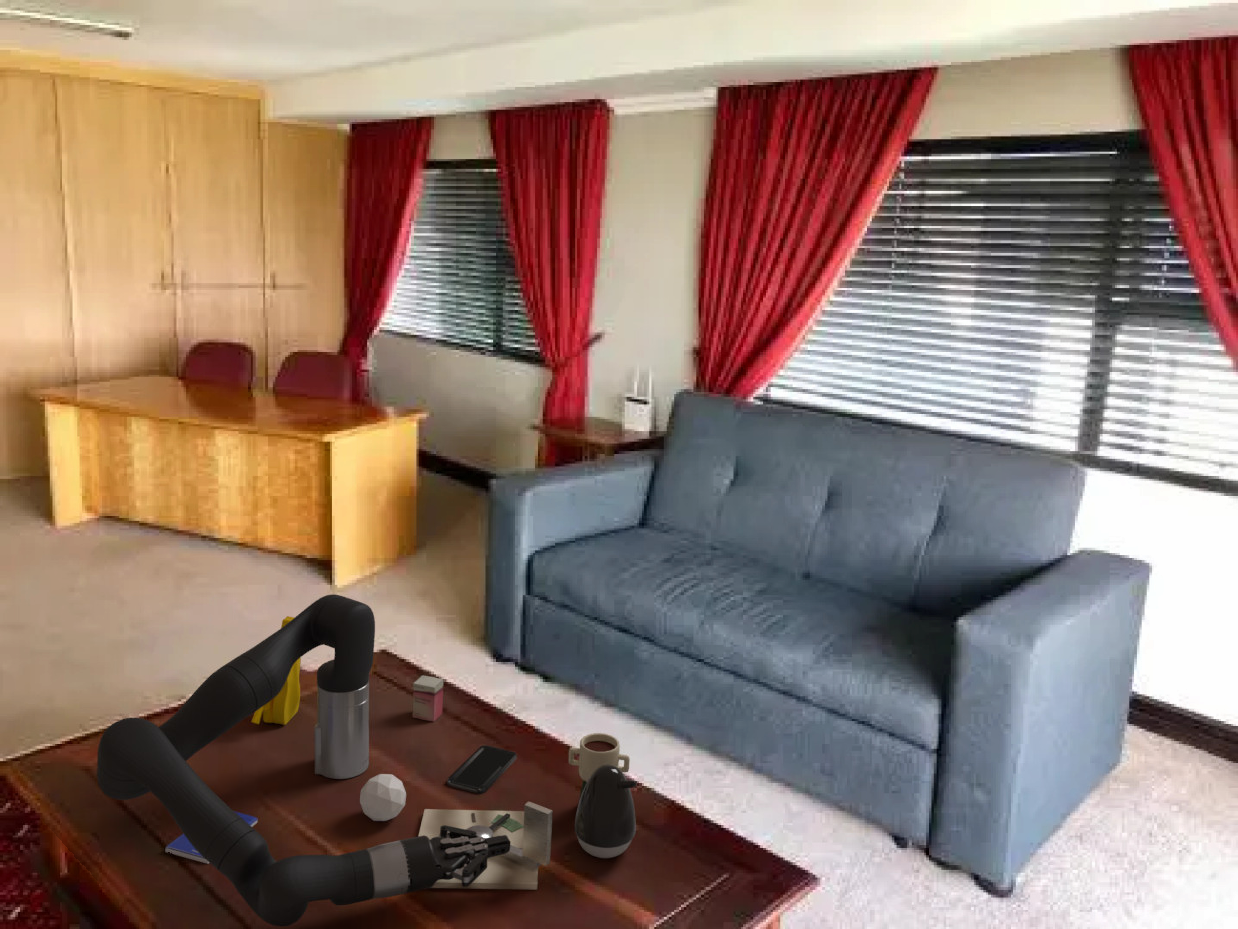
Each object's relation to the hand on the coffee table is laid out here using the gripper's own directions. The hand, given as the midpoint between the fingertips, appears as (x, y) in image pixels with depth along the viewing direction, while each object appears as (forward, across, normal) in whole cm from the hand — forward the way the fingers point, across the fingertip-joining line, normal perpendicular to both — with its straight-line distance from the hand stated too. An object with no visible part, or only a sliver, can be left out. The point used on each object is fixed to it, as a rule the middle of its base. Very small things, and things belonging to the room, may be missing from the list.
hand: (508, 843), depth 160 cm
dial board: (-2, -9, -7) cm, 11 cm away
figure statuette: (-24, -65, -9) cm, 70 cm away
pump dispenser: (+18, -2, -7) cm, 19 cm away
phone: (+7, -32, -8) cm, 34 cm away
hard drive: (-41, -28, -9) cm, 50 cm away
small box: (+4, -57, -9) cm, 57 cm away
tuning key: (+4, -6, -5) cm, 9 cm away
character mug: (+22, -13, -7) cm, 26 cm away
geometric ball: (-14, -24, -8) cm, 29 cm away
